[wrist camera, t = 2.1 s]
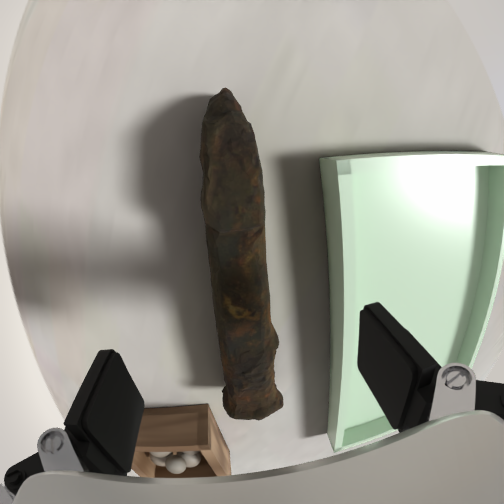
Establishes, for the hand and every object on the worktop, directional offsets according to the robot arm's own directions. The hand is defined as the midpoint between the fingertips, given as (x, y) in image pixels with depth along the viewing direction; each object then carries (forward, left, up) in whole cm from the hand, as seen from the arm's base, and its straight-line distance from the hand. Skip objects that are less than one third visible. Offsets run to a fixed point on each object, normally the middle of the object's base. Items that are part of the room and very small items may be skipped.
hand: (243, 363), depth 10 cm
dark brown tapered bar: (-1, 0, -8) cm, 8 cm away
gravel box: (+14, -8, -7) cm, 18 cm away
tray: (+6, +13, -7) cm, 16 cm away
